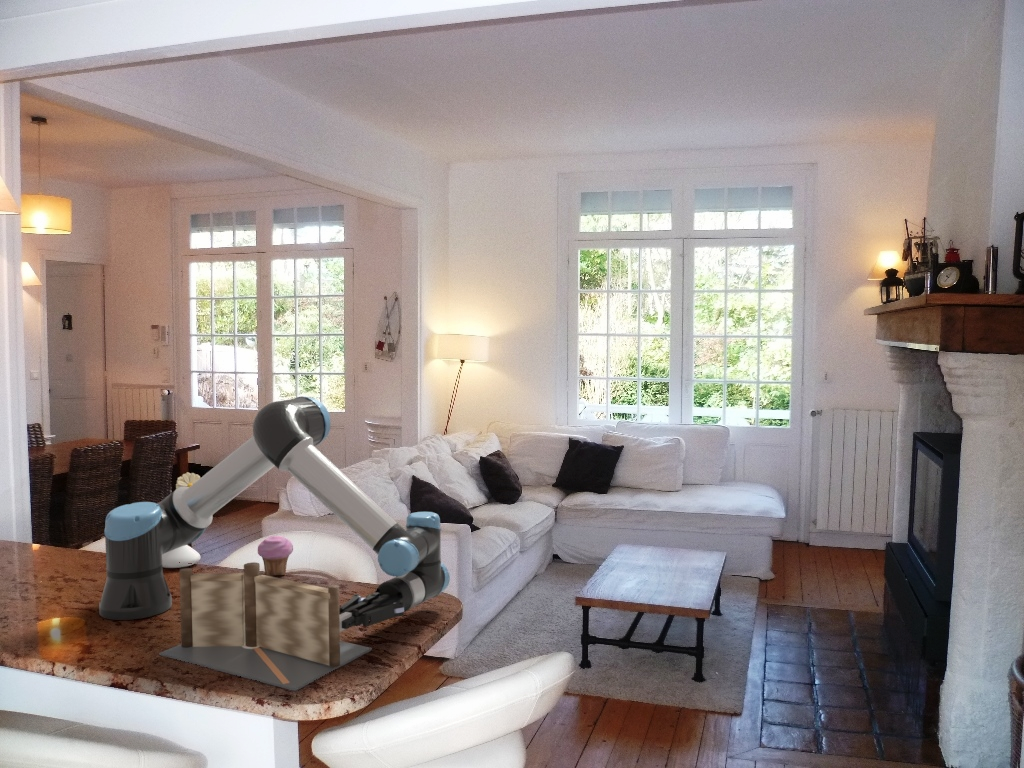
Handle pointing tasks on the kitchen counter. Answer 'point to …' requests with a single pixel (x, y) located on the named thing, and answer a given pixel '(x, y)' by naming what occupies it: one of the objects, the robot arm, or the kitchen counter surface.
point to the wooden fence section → (218, 608)
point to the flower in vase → (185, 552)
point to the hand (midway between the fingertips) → (327, 629)
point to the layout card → (263, 663)
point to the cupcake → (275, 554)
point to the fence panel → (298, 619)
